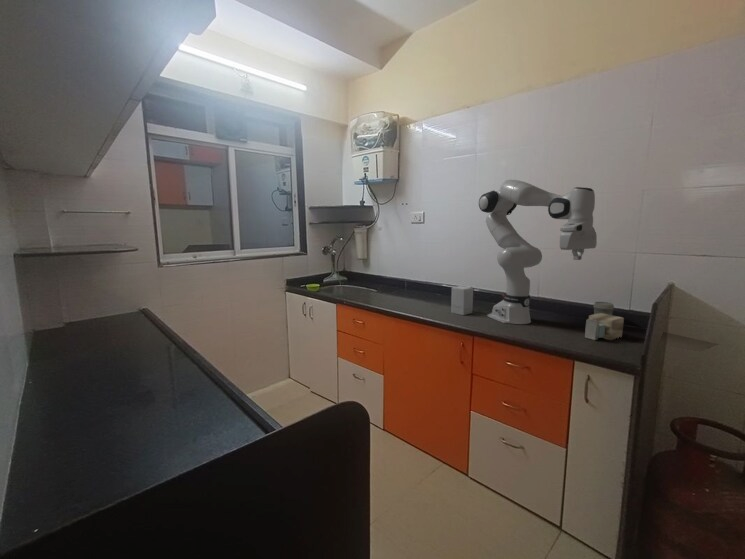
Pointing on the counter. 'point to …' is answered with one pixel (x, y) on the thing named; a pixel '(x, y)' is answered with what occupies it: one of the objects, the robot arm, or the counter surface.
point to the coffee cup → (603, 308)
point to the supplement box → (462, 300)
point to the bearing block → (610, 325)
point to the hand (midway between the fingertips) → (577, 259)
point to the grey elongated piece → (592, 329)
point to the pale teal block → (601, 330)
